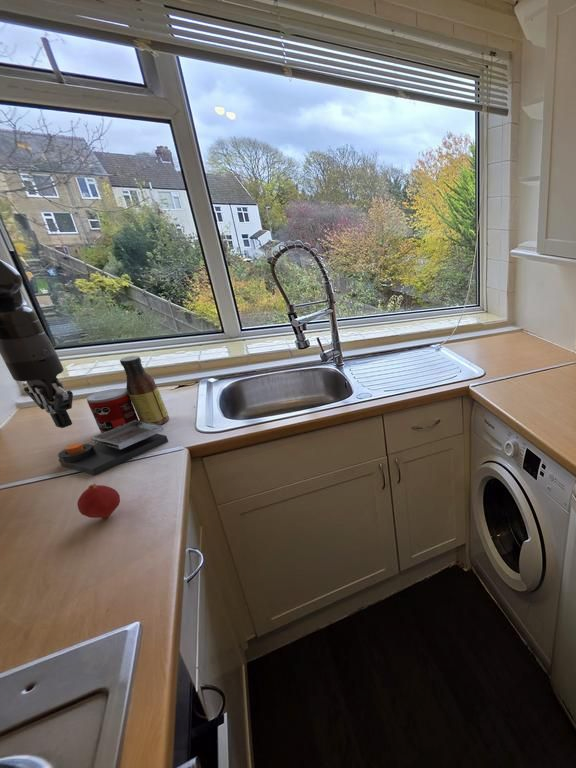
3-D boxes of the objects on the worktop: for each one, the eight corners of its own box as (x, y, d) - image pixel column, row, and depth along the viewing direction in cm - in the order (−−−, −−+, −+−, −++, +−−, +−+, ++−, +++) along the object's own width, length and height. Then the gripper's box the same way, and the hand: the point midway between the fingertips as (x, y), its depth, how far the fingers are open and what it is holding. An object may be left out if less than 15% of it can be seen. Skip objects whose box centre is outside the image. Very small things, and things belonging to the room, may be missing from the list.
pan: (119, 449, 96) (117, 444, 96) (92, 442, 99) (89, 437, 99) (164, 430, 105) (162, 425, 105) (137, 424, 108) (135, 419, 107)
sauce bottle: (158, 416, 119) (134, 352, 111) (175, 418, 118) (153, 354, 110) (134, 427, 113) (108, 360, 106) (153, 429, 112) (127, 362, 104)
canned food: (98, 432, 111) (82, 395, 106) (135, 421, 117) (122, 386, 112) (106, 440, 107) (90, 403, 102) (145, 428, 113) (131, 392, 108)
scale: (93, 477, 92) (87, 464, 91) (58, 466, 96) (52, 454, 94) (168, 441, 107) (164, 430, 105) (136, 433, 110) (131, 422, 109)
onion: (79, 522, 79) (62, 488, 76) (115, 504, 84) (100, 472, 81) (96, 530, 77) (80, 496, 74) (132, 511, 82) (118, 479, 79)
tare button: (72, 455, 95) (69, 449, 94) (64, 453, 95) (62, 447, 95) (87, 449, 97) (84, 444, 96) (79, 447, 98) (77, 441, 97)
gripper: (-14, 357, 85) (25, 429, 92) (24, 364, 81) (62, 438, 88) (34, 346, 92) (67, 414, 99) (72, 353, 88) (103, 423, 95)
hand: (65, 425), depth 93 cm, fingers closed
